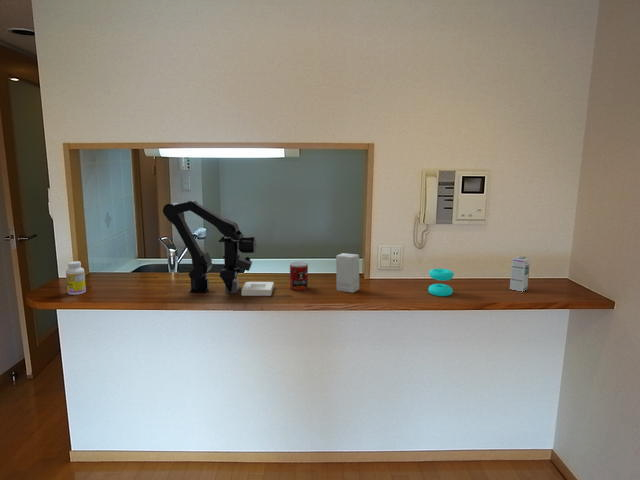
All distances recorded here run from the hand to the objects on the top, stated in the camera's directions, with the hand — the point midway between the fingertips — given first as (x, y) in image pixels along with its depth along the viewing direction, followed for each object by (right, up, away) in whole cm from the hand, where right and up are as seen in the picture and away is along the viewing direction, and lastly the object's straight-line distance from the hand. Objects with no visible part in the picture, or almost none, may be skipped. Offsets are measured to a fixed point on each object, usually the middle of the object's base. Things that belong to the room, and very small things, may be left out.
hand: (232, 288), depth 186 cm
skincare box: (+49, -1, +4) cm, 49 cm away
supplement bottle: (-63, -1, -5) cm, 63 cm away
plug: (0, -1, 0) cm, 1 cm away
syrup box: (+124, -2, +7) cm, 124 cm away
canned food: (+28, -1, +6) cm, 28 cm away
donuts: (+88, -2, 0) cm, 88 cm away
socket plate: (+11, -1, 0) cm, 11 cm away
